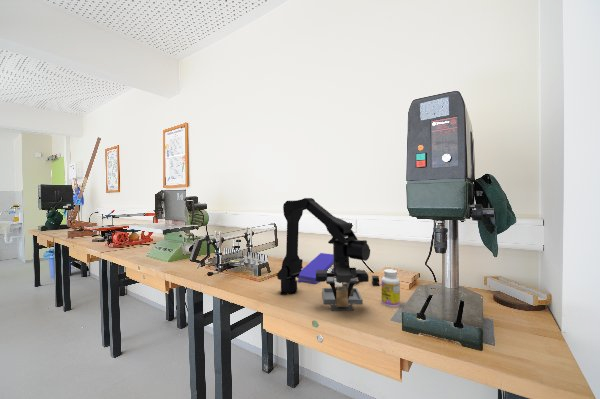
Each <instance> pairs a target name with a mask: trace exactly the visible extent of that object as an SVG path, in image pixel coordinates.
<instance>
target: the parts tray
mask: <svg viewBox="0 0 600 399" xmlns="http://www.w3.org/2000/svg"><path fill="white" fill-rule="evenodd" d="M335 289H336V287H335ZM322 299H323V304H324V305H326V304H327V305H336V299H335V297H334V294H333V290H332V288H331V287H323V288H322ZM363 302H364V300H363V298H362V296H361V294H360V291H359V290H358V288H356V287H353V296H349V299H348V305H363Z"/></svg>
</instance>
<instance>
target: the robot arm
mask: <svg viewBox="0 0 600 399" xmlns="http://www.w3.org/2000/svg"><path fill="white" fill-rule="evenodd" d="M282 210H283V216H284V218H285V220H286V245H285V246H286V251H285V256H284V258H283V260H282V262H281V263H282V264H281V268H280V269H279V270H278V272H277V273H276V278H277V280H280V294H279V295H296V293H297V292H298V279H297V277H299V274H300V272H301V270H302V269H303V268H304V267H303V261H304V260H303V259H302V258H300V256H299V254H298V253H299V229H300V228H299V225H300V224H299V223H300V220H301V219H302V216H303V214H304V213H303V212H304V211H305V210H307V211H308V212H309V213H310V214H311V215H312V216H314V217H315V218H316V219H317V220H319V221H320V223H322V224H323V225H324V226H325V228H326V231H327V232H328V233H329V235H331V239H330V240H328V242H327V243H328V244H330V245H331V244H332V247H333V248H332V250H333V251H332V252H333V253H332V254H333V265H332V267H333V268H332V269H333V272H334V273H327V272H326V270H317V271H316V281H317V282H319V283H320V282H323V283H325V282H326V284H327V285H329V286H330V288H332V290H333V294H334V297H335V299H336V289H335V288H336V283H339V284H342V282H346V283H347V290H348V299H349V296H350V293H351V290H352V288H354V286H355V285H357V284H359V283H360V282H361V283H368V282H369V279H370V278H369V274H368V272H366V270H364V269H361V270H360V269H357V267H351V266H350V259H353V260H357V261H358V260H359V261H365V262H367V261H368V260H369V258H370V256H371V249H370V246H369V244H368V241H367V240H365V239H362V240H361V239H358V238H357V236H356V234H355V233H354V231H353V230H352V226H351V225H352V224H350V223H349V222H347V221H345V220H344V219H341V218H339V217H336V216H335V215H333V214H332V213H330V212H329V211H328V210H327V209H326V208H324V207H323V206H321V205H320V204H319V203H318V202H317V201H315V199H314V198H313V197H312V198H311V197H303V198H302V199H298V200H286V201H285V202H284V203H283V206H282ZM335 280H336V282H335ZM358 281H359V283H358Z"/></svg>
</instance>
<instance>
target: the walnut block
mask: <svg viewBox="0 0 600 399" xmlns="http://www.w3.org/2000/svg"><path fill="white" fill-rule="evenodd" d="M341 286H345V287H347V283H346V282H341ZM353 288H354V287H353ZM353 288H352V290H351V293H350V296H353Z"/></svg>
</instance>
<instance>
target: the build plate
mask: <svg viewBox="0 0 600 399" xmlns="http://www.w3.org/2000/svg"><path fill="white" fill-rule="evenodd" d="M371 285H372V286H373V287H380V277H379V275H371Z"/></svg>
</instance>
